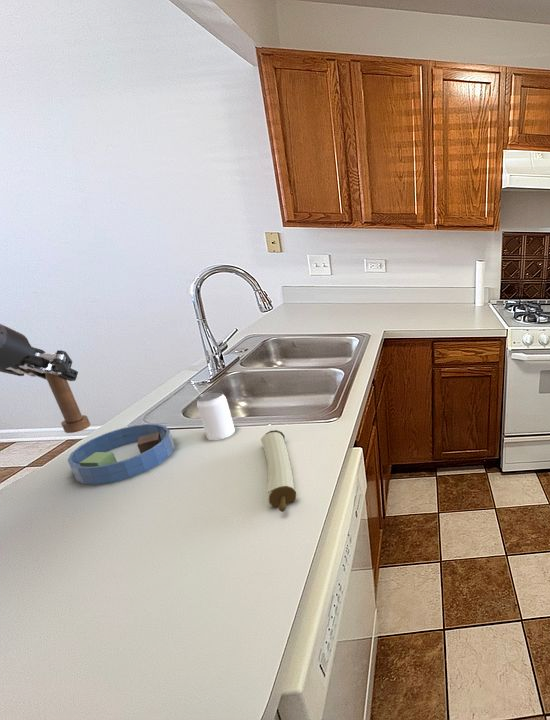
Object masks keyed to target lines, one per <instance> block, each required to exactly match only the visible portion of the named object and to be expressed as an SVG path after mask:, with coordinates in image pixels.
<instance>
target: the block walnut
mask: <svg viewBox="0 0 550 720" xmlns="http://www.w3.org/2000/svg"><path fill="white" fill-rule="evenodd" d="M161 441H162V439H161V436H160V434H159V432H158V433H154V434H150V435H146V436H142V437H139V439H138V442H137V445H136V446H137V448H138V450H139V453H140V454H141V453H143V452H145V451H147V450H149V449H151V448H153V447H154V446H155V445H157V444H158V443H160V442H161Z"/></svg>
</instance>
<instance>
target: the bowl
mask: <svg viewBox="0 0 550 720" xmlns="http://www.w3.org/2000/svg"><path fill="white" fill-rule="evenodd" d="M158 432H159V434H160V436H161V439H162V441H161V442H160V443H158V444H157V445H155V446H154V447H153V448H151V449H149V450H147V451H145V452H143V453H140V454H137V455H134V456H132V457H129V458H126V459H124V460H120V461H117V462H116V463H112V464H108V465H101V466H94V467H84V466H81V465H80V462H81V461H83V460H85V459H86V458H88V457H89V456H91V455H92V454H94V453H95V452H110V451H111V450H114V449H116V448H120V447H122V446H126V445H130V444H133V443H136V442H137V443H138V439H139V437H142V436H146V435H150V434H154V433H158ZM174 451H175V442H174V439H173V437H172V434H171V431H170V429H169V428H168V427H167V426H166V425H162V424H159V423H144V424H134V425H131V426H126V427H121V428H118V429H115V430H112V431H109V432H106V433H103V434H101V435H98V436H96V437H94V438H91V439H90V440H87V441H86V442H84V443H82V444H81V445H79V446H78V447H77V448H76V449H75V450H73V451H72V452H71V453H70V454H69V457H68V458H67V462H68V465H69V467H70V469H71V471H72V473H73V474H72V475H74V479H75V480H76V482H78V483H81V484H83V485H89V486H90V485H92V486H93V485H94V486H98V485H105V484H106V485H107V484H112V483H116V482H120V481H124V480H127V479H130V478H131V479H132V478H133V477H135V476H138V475H140V474H143V473H146V472H147V471H149V470H151V469H153V468H155V467H157V466H159V465H160V464H162V463H163V462H164V461H165V460H167V459H168V458H169V457H170V456H171V454H172V453H173V452H174Z"/></svg>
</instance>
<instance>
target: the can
mask: <svg viewBox="0 0 550 720" xmlns="http://www.w3.org/2000/svg"><path fill="white" fill-rule="evenodd" d="M196 400H197V402H196V407H197V410H198V414H199V417H200V420H201V424H202V427H203V430H204V433H205V436H206V438H207V439H208V440H209V441H219V440H225V439H227V438H229V437H231V436H232V435H233V434H235V431H236V428H235V425H234V420H233V418H232V417H233V416H232V413H231V410H230V406H229V403H228V399H227V397H226V395H225V394H224V392H223V391H221V390H211V391H207V392H203V393H201V394H199V395H198V396H197V397H196Z"/></svg>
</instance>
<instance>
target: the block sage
mask: <svg viewBox="0 0 550 720" xmlns="http://www.w3.org/2000/svg"><path fill="white" fill-rule="evenodd" d="M116 462H118V461H117V459H116V456H115V454H114V452H113V451H107V452H95V453H94V454H92V455H91V456H89V457H88V458H86V459H85V460H83V461H81V462H80V465H81V466H84V467H94V466H101V465H108V464H112V463H116Z"/></svg>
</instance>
